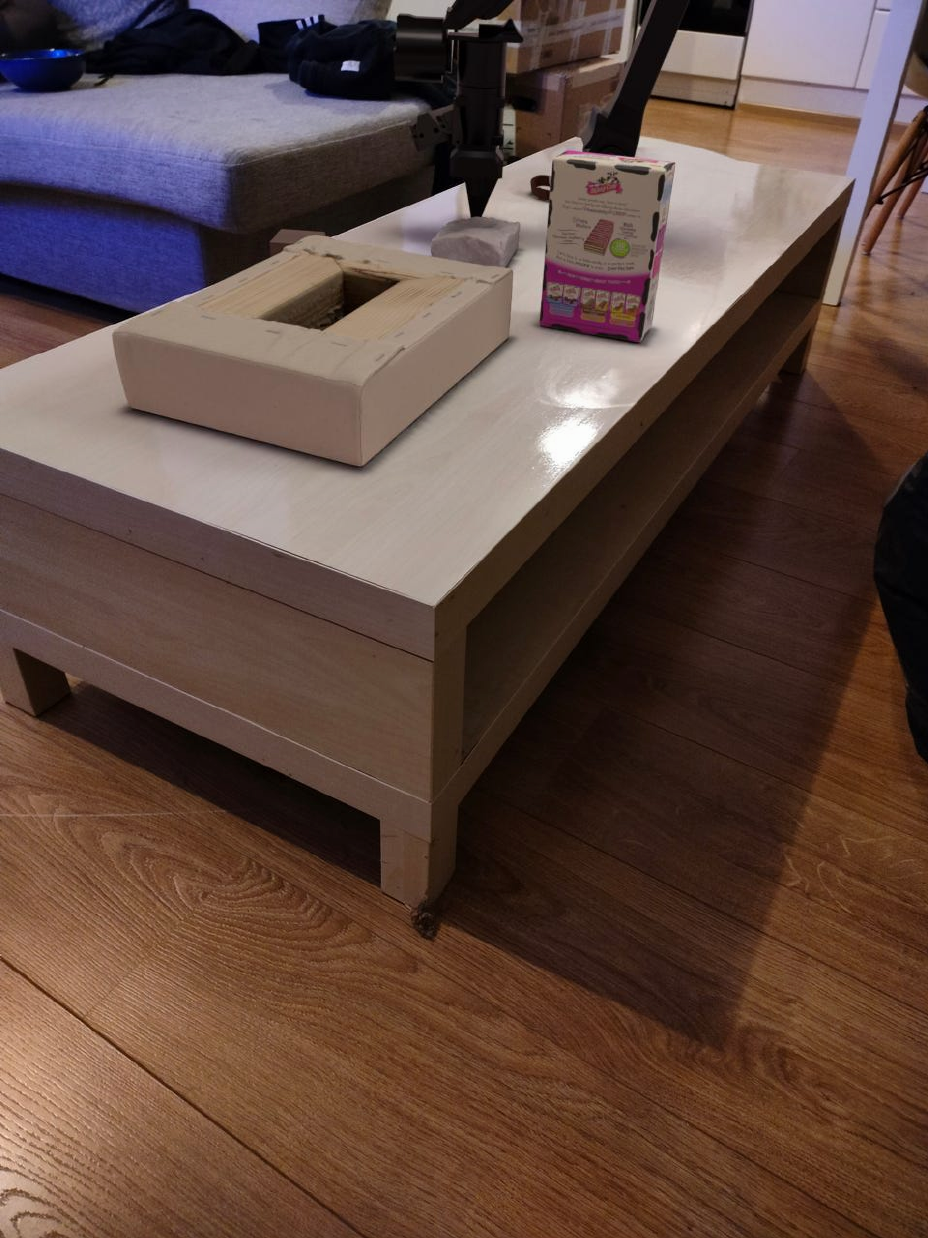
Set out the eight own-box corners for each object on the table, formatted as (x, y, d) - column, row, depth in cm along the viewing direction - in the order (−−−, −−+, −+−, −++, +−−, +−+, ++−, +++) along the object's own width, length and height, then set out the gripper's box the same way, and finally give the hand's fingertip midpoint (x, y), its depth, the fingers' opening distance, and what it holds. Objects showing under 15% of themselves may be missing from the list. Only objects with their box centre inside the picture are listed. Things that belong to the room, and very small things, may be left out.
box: (313, 299, 106) (121, 409, 82) (310, 225, 101) (105, 320, 77) (511, 340, 99) (365, 474, 75) (517, 264, 95) (364, 380, 71)
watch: (582, 200, 143) (585, 174, 140) (563, 206, 140) (565, 179, 137) (541, 190, 146) (543, 164, 144) (521, 195, 144) (523, 169, 141)
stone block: (428, 282, 116) (509, 273, 114) (421, 241, 114) (504, 231, 111) (449, 257, 126) (525, 248, 123) (443, 218, 123) (520, 208, 120)
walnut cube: (284, 273, 112) (281, 228, 109) (327, 276, 111) (325, 231, 108) (272, 287, 108) (269, 241, 105) (316, 291, 107) (314, 244, 104)
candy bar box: (652, 328, 102) (679, 160, 92) (641, 344, 98) (667, 171, 88) (551, 310, 105) (566, 146, 95) (536, 325, 101) (551, 156, 92)
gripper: (419, 69, 123) (418, 199, 132) (406, 94, 108) (406, 239, 117) (507, 73, 122) (500, 203, 132) (506, 99, 108) (498, 244, 117)
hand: (475, 221), depth 124 cm, fingers closed
